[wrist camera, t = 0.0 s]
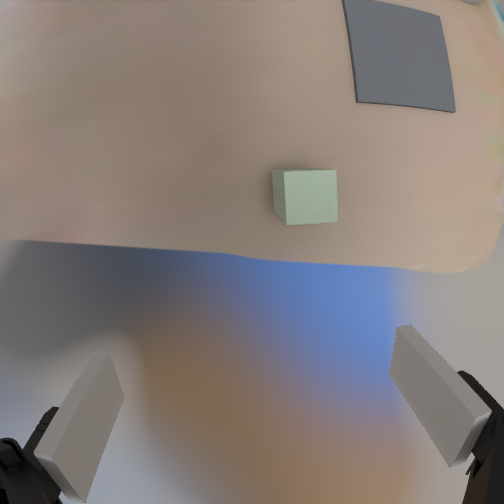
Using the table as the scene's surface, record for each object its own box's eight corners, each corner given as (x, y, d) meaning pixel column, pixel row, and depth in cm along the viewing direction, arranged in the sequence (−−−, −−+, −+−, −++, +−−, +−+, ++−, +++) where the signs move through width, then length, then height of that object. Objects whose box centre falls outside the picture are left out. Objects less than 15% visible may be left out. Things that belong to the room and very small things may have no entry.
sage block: (271, 169, 39) (283, 171, 29) (311, 168, 39) (336, 169, 29) (273, 210, 40) (286, 225, 30) (313, 207, 40) (337, 222, 31)
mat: (341, -2, 33) (343, -5, 32) (436, 17, 33) (439, 16, 32) (356, 102, 37) (358, 101, 36) (452, 112, 37) (455, 112, 37)
